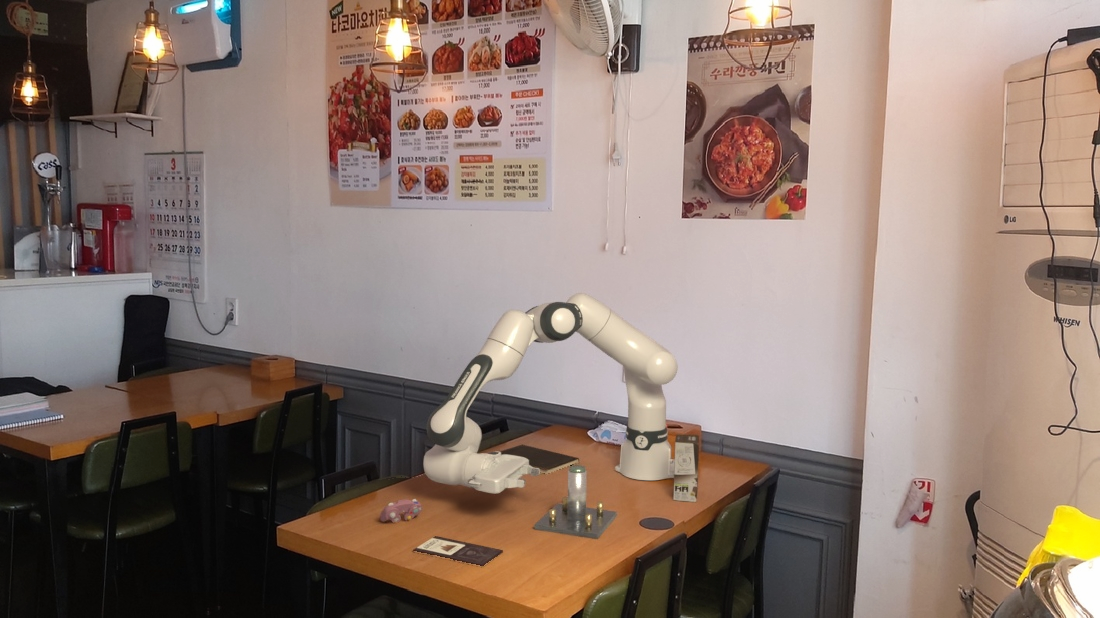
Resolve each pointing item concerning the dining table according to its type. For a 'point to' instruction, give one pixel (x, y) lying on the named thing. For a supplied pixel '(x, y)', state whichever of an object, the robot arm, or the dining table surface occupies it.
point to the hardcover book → (542, 458)
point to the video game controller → (401, 510)
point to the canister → (577, 492)
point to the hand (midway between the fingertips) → (531, 477)
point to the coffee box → (686, 467)
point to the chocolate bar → (459, 550)
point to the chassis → (588, 528)
